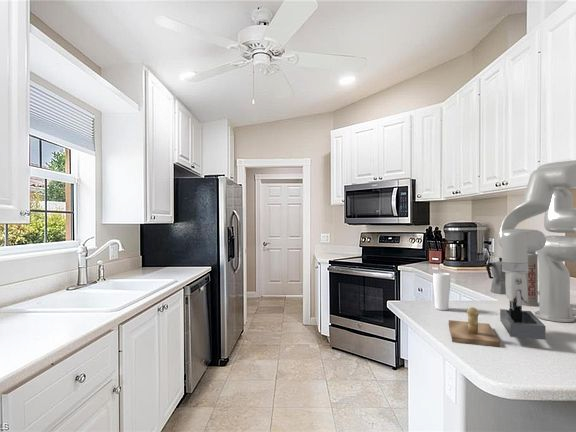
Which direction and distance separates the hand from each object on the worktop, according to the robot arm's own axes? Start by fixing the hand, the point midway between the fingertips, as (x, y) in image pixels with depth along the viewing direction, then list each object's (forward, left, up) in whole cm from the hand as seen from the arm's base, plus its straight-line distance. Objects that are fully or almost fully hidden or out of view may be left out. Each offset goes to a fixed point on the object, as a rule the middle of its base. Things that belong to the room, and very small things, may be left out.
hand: (515, 320), depth 125 cm
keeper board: (+14, +9, -4) cm, 18 cm away
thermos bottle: (-14, -47, -4) cm, 49 cm away
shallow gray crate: (0, +8, -1) cm, 8 cm away
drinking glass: (+22, -24, -4) cm, 33 cm away
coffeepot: (-7, -71, -4) cm, 71 cm away
